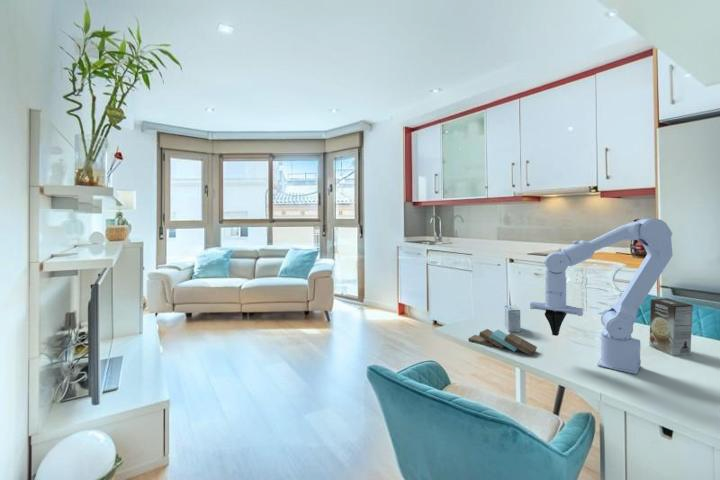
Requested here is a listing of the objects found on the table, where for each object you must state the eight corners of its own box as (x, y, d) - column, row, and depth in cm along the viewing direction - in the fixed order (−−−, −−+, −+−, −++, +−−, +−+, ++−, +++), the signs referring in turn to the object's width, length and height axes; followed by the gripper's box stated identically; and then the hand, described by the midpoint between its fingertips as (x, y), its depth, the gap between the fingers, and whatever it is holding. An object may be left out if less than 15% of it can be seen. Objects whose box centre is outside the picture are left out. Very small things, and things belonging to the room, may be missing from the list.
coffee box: (647, 346, 124) (649, 298, 123) (665, 345, 124) (667, 297, 123) (672, 356, 115) (674, 305, 114) (692, 355, 115) (694, 304, 114)
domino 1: (510, 341, 128) (487, 328, 134) (503, 344, 124) (480, 332, 131) (509, 345, 128) (486, 332, 134) (502, 348, 125) (479, 335, 131)
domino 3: (537, 347, 121) (511, 332, 127) (532, 351, 118) (505, 336, 123) (535, 351, 122) (509, 336, 127) (530, 355, 118) (503, 340, 124)
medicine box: (520, 332, 141) (520, 310, 141) (508, 332, 142) (508, 309, 141) (516, 326, 149) (516, 304, 148) (504, 325, 150) (504, 304, 149)
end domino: (498, 340, 131) (474, 334, 137) (492, 344, 127) (468, 338, 133) (498, 344, 131) (474, 339, 137) (492, 348, 127) (468, 342, 133)
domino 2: (522, 343, 124) (498, 329, 130) (516, 347, 121) (491, 333, 127) (520, 347, 125) (496, 333, 131) (514, 351, 122) (490, 336, 127)
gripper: (585, 292, 112) (585, 335, 113) (535, 286, 122) (535, 327, 123) (580, 296, 107) (579, 342, 108) (527, 290, 117) (527, 332, 118)
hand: (555, 334), depth 115 cm, fingers closed
